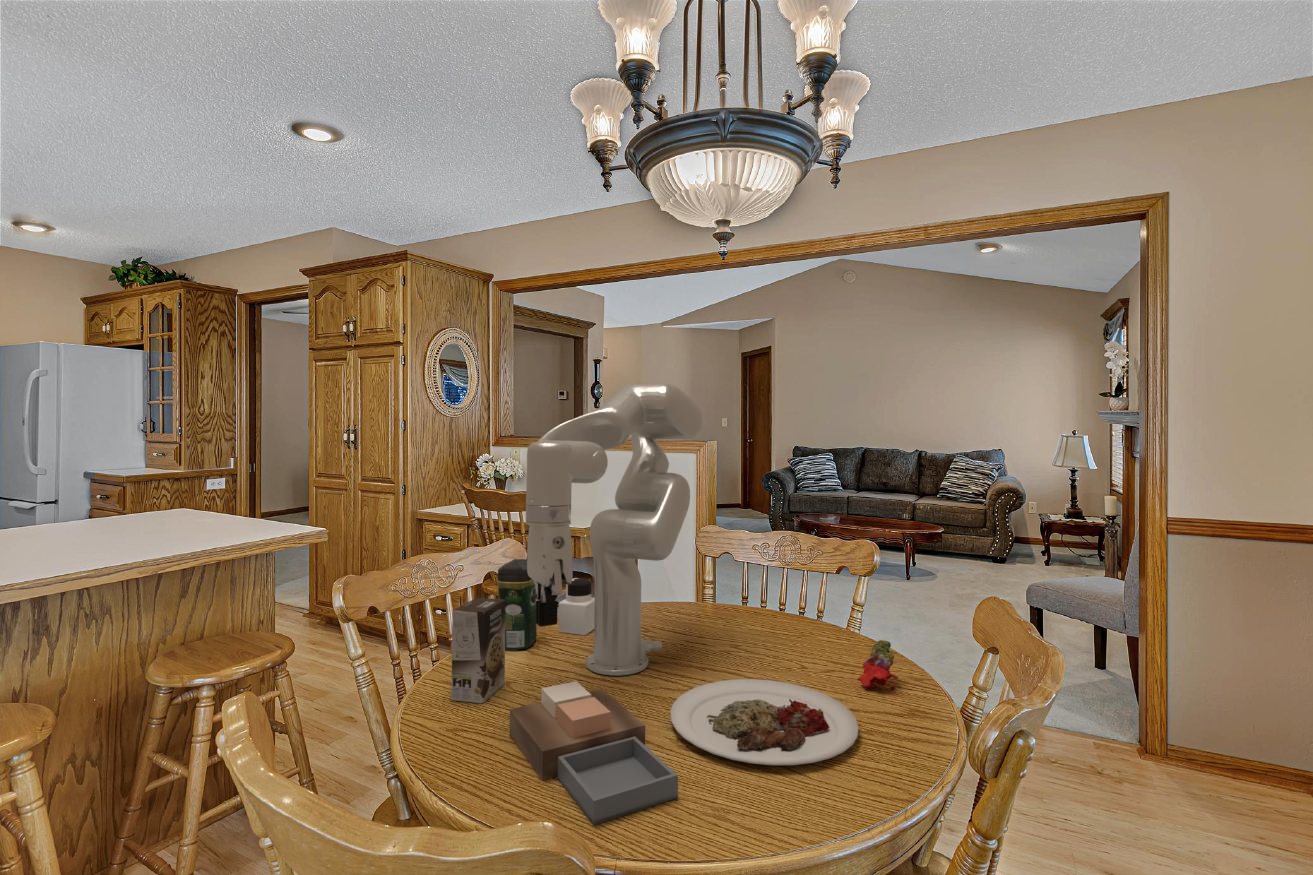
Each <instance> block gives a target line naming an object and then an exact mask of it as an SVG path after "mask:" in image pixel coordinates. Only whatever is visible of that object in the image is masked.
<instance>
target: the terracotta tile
mask: <svg viewBox="0 0 1313 875" xmlns="http://www.w3.org/2000/svg"><path fill="white" fill-rule="evenodd" d="M557 722H558V723H559V724H560V725H561V726H562V727H563V728H564V729H565V730H566V732H567V733H568V734H569V735H570V736H571V737H572V738H575V737H579V736H583V735H587V734H591V733H595V732H599V731H603V730H607V729H611V712H610V711H609V710H608V709H607V708H606V707H605V706H604V705H602V704H601V703H600V702H599V701H598V700H597V699H596V698H595V697H591V698H586V699H582V700H577V701H573V702H568V703H563V704H559V705H557Z"/></svg>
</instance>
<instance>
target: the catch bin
mask: <svg viewBox="0 0 1313 875" xmlns="http://www.w3.org/2000/svg"><path fill="white" fill-rule="evenodd" d="M557 779H558V781H559V782H560V784H561V785H562V786H563V787H564V789H565V790H566V792H567V793H568V794H569V795H570V796H571V798H572V799H573V801H574V803H576V805H577V806H578V807H579V808H580V810H581V811H582V812H583V814H584V815H585V816H586V818H587V819H588V820H589V821H590V823H591V824H592V826H596V825H600V824H603V823H606V822H609V821H612V820H615V819H618V818H620V817H624V816H626V815H630V814H633V813H636V812H639V811H642V810H645V809H648V808H651V807H654V806H657V805H660V804H663V803H667V802H670V801H672V800H676V799H678V798H679V797H678V796H679V775H678V774H677V773H676V772H675V771H674V770H673V769H672V768H671V767H669V766H668V764H666V763H665V762H664V761H663V760H662V759H661V758H660V757H659V756H658V755H657V754H655V753H654V752H653V751H652V750H650V748H648V746H646V744H645V745H644V744H643V743H642V742H641V741H639V740H638V739H637V738H636V737H631V738H627V739H623V740H619V741H616V742H612V743H608V744H604V745H600V746H597V747H593V748H589V749H585V750H581V751H577V752H574V753H570V754H566V755H562V756H558V776H557Z"/></svg>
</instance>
